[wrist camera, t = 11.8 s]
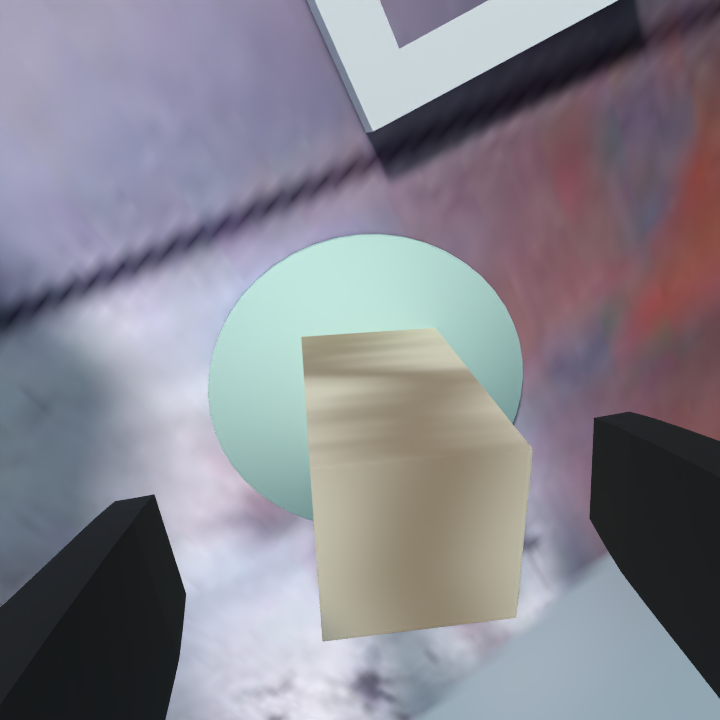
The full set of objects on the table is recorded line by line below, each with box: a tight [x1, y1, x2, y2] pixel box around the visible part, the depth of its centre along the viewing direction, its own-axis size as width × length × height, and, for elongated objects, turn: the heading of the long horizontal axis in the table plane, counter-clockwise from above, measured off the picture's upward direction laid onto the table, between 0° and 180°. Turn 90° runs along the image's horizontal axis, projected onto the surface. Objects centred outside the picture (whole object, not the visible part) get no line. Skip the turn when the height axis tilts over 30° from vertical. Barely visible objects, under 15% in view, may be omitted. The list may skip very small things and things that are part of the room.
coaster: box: [208, 234, 523, 520], centre depth 19 cm, size 11×11×1 cm
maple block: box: [301, 328, 533, 641], centre depth 15 cm, size 4×4×8 cm
